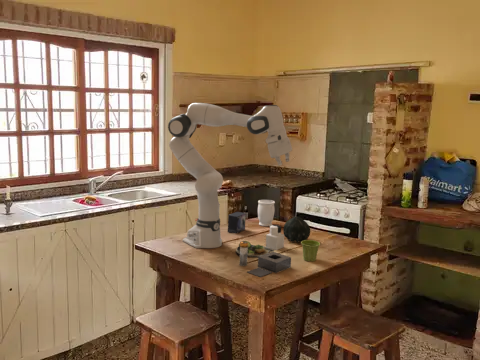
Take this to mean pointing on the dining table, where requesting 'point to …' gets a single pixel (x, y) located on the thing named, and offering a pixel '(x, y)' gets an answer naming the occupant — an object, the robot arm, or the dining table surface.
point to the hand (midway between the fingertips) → (284, 163)
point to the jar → (266, 212)
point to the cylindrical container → (243, 253)
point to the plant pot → (310, 249)
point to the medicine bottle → (275, 238)
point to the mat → (259, 272)
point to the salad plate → (255, 250)
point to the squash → (296, 229)
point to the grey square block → (274, 262)
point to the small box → (236, 222)
